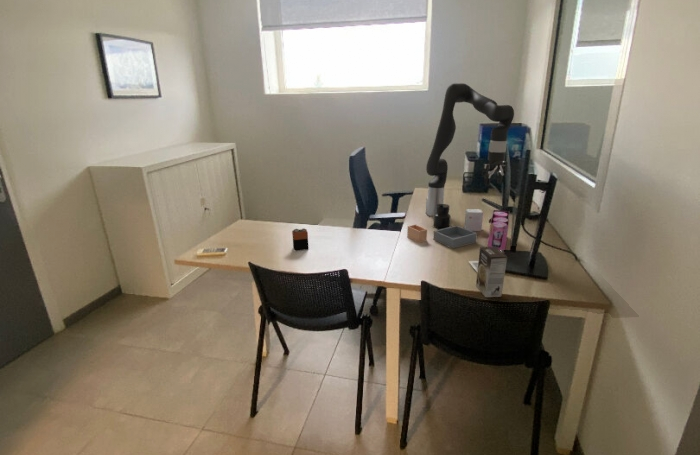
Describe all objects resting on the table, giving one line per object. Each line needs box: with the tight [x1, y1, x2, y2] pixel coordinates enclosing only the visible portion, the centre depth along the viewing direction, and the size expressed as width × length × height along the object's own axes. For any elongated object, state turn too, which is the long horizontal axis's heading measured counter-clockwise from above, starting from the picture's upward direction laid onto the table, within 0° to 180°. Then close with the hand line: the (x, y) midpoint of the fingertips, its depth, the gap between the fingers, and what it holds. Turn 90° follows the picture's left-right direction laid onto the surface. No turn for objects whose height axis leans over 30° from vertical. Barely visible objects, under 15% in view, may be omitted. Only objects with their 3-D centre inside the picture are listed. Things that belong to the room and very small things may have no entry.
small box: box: [463, 208, 484, 232], centre depth 201 cm, size 8×6×10 cm
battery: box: [291, 228, 309, 252], centre depth 179 cm, size 4×7×10 cm, turn 105°
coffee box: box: [475, 246, 508, 298], centre depth 138 cm, size 9×6×16 cm
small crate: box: [406, 224, 428, 244], centre depth 190 cm, size 9×5×6 cm, turn 30°
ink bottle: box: [432, 203, 451, 230], centre depth 205 cm, size 10×9×12 cm
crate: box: [432, 225, 478, 249], centre depth 187 cm, size 13×15×5 cm
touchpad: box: [468, 260, 479, 273], centre depth 157 cm, size 8×15×2 cm, turn 3°
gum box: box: [486, 209, 510, 250], centre depth 181 cm, size 24×8×14 cm, turn 157°
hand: (492, 184), depth 181 cm, fingers open, 8 cm apart
